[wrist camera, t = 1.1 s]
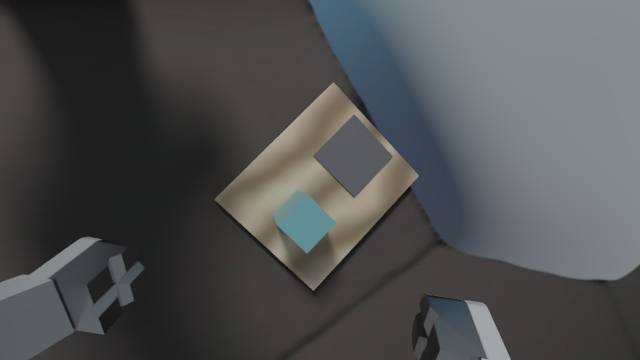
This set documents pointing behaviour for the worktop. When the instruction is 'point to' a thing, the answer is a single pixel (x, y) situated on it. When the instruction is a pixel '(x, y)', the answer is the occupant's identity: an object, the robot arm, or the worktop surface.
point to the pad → (353, 155)
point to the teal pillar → (303, 220)
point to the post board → (313, 189)
